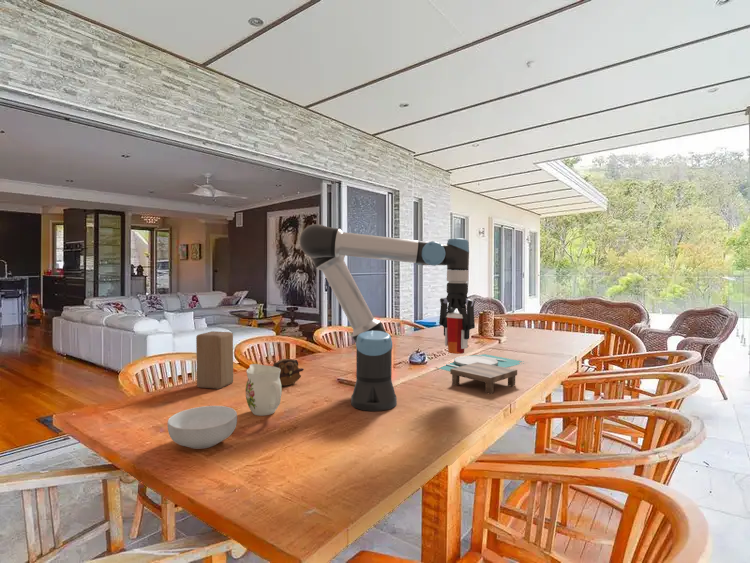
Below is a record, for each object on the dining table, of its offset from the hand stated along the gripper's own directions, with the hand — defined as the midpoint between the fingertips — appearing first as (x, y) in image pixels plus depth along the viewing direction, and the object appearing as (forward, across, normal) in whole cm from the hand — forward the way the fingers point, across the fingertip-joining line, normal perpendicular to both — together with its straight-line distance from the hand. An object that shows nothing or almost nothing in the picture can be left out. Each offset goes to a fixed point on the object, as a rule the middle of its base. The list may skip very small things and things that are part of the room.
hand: (456, 346), depth 157 cm
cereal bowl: (+18, +17, +84) cm, 87 cm away
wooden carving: (+18, +50, +40) cm, 66 cm away
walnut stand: (+17, 0, -17) cm, 24 cm away
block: (+18, +68, +60) cm, 92 cm away
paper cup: (+2, 0, 0) cm, 2 cm away
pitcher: (+18, +27, +61) cm, 69 cm away
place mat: (+18, +23, -46) cm, 55 cm away
